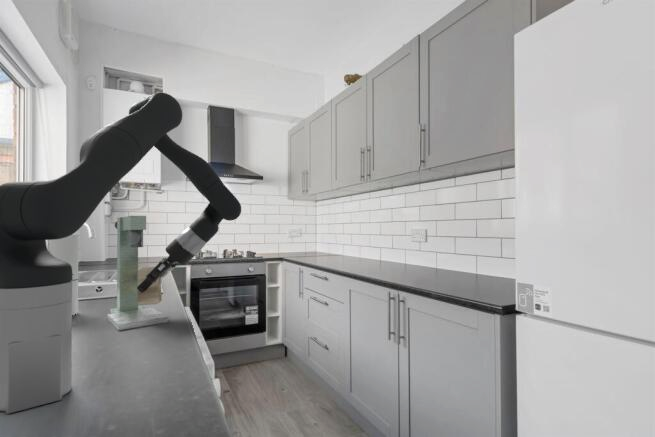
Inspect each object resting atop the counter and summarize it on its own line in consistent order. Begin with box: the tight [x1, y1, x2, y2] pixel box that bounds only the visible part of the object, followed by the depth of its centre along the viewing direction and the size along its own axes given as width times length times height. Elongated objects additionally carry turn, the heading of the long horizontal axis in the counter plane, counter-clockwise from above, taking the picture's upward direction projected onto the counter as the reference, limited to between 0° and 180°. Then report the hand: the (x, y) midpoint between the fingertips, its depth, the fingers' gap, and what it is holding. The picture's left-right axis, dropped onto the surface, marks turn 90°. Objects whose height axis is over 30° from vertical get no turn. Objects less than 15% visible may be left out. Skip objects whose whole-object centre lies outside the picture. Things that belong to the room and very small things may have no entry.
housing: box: [138, 266, 163, 306], centre depth 100 cm, size 5×5×10 cm
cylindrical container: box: [49, 234, 79, 316], centre depth 109 cm, size 7×7×25 cm
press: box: [107, 215, 169, 332], centre depth 106 cm, size 33×12×30 cm, turn 41°
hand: (142, 288), depth 100 cm, fingers closed on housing, 5 cm apart
